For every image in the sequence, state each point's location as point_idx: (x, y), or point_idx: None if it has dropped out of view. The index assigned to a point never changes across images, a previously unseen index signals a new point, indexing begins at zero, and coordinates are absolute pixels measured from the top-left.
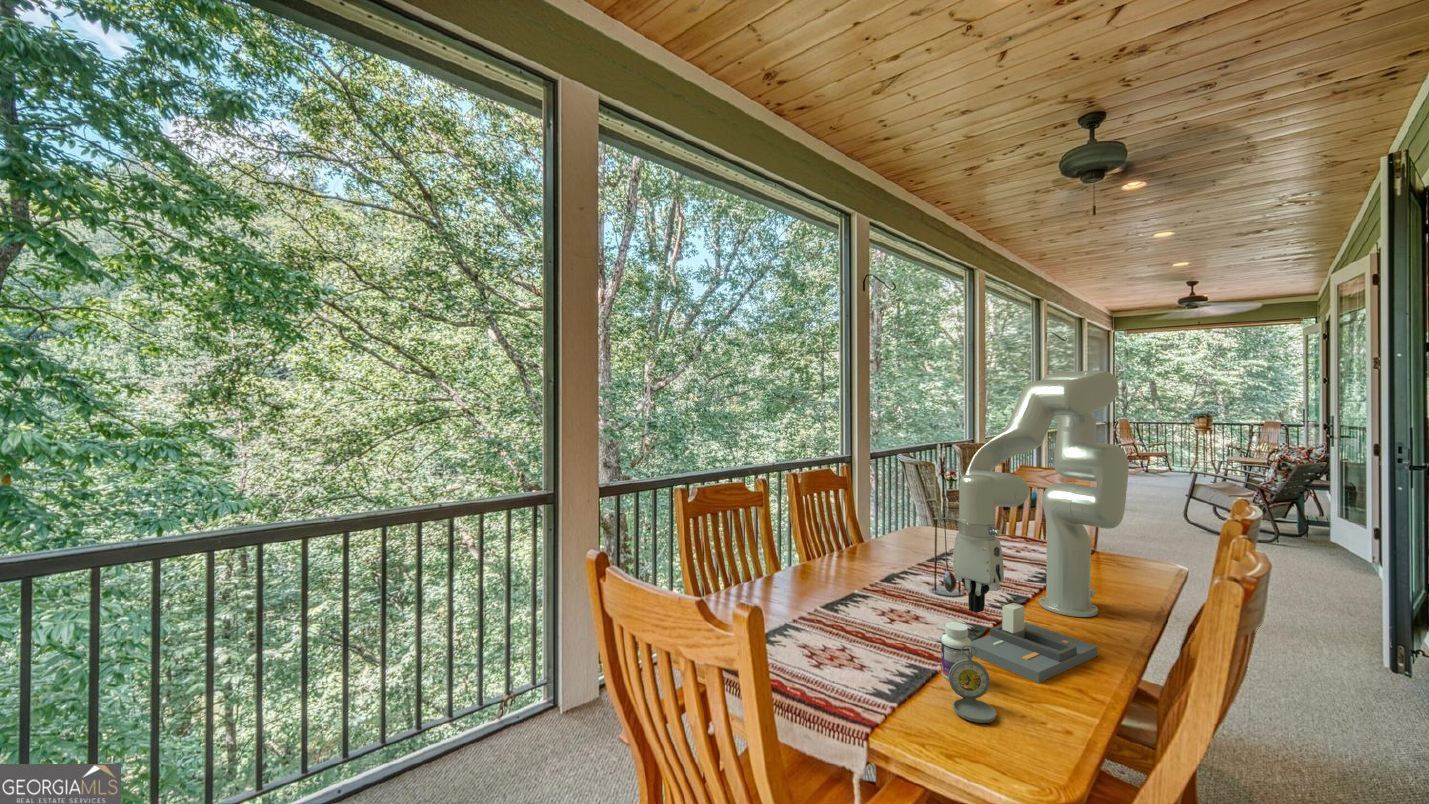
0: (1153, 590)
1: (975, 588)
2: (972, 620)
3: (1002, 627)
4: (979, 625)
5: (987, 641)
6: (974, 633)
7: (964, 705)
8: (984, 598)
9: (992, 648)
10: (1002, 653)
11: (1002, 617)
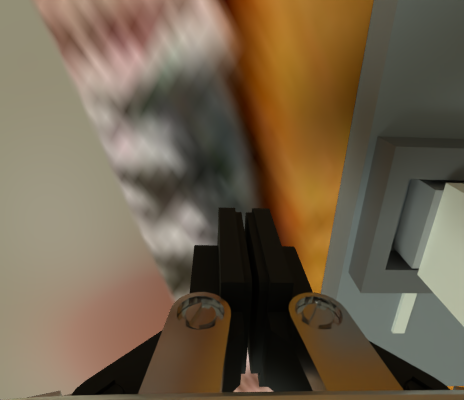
0: None
1: (229, 354)
2: (110, 43)
3: (424, 281)
4: (180, 82)
5: (365, 324)
6: (229, 198)
7: None
8: (309, 289)
9: (403, 357)
10: (444, 362)
11: (458, 320)
